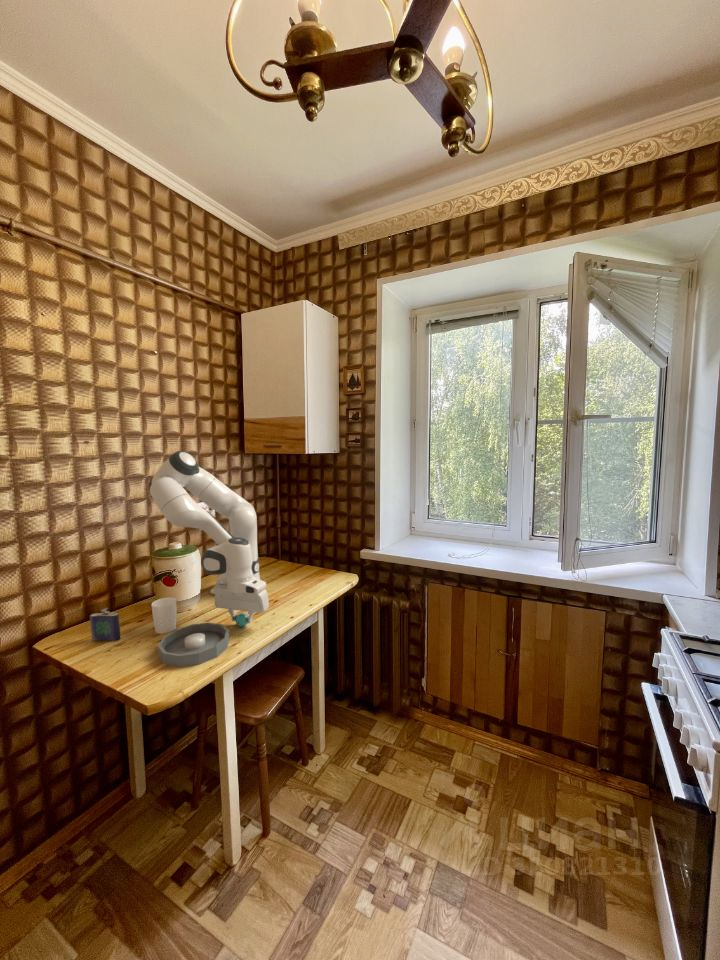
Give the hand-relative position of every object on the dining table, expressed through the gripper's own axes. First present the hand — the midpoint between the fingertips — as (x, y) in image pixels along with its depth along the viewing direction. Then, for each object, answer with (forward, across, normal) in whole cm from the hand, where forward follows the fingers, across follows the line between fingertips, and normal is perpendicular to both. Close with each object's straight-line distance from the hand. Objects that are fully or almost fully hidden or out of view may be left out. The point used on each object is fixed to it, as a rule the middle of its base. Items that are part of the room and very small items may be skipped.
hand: (242, 621), depth 136 cm
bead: (0, 0, 0) cm, 0 cm away
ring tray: (+2, -6, -17) cm, 18 cm away
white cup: (+2, -25, -9) cm, 27 cm away
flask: (+2, -39, -20) cm, 44 cm away
